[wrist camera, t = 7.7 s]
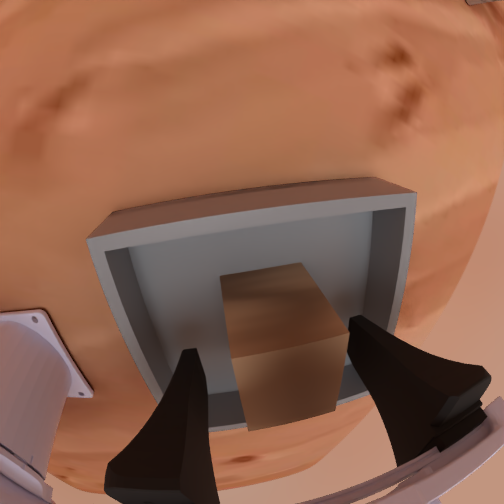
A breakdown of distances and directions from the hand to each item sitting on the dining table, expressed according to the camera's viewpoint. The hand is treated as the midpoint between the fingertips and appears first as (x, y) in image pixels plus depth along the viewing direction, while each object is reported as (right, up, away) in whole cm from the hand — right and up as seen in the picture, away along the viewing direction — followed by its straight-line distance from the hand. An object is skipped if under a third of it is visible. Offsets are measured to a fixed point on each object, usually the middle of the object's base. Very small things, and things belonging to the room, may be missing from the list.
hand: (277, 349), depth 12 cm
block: (0, +1, +2) cm, 3 cm away
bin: (-1, +1, +3) cm, 3 cm away
